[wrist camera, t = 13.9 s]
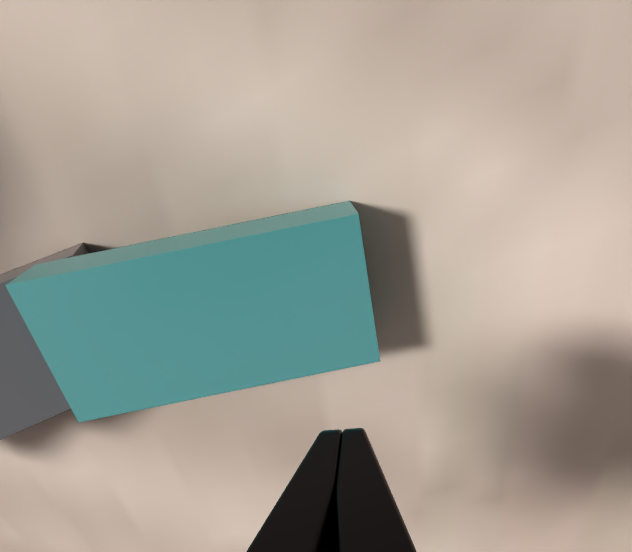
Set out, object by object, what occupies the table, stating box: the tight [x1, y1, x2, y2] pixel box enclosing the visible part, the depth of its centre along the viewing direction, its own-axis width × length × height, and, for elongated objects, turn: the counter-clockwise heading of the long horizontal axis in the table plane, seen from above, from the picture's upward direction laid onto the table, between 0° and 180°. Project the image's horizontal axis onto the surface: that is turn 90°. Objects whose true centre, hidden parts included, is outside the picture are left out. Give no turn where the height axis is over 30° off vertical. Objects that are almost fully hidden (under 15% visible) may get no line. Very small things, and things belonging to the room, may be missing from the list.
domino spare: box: [5, 201, 380, 422], centre depth 13 cm, size 2×5×10 cm
